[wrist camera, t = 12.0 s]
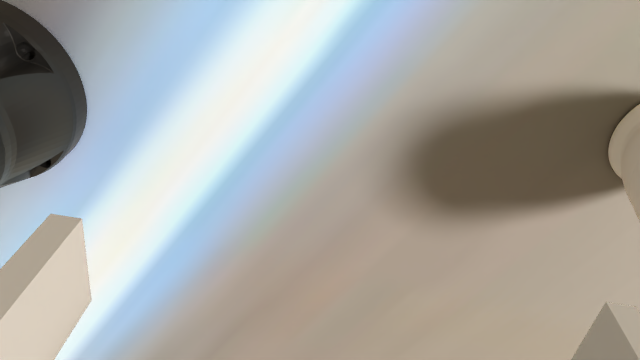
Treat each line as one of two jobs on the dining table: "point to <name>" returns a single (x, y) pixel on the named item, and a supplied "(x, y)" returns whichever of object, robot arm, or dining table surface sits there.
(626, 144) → the jar
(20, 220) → the dining table surface
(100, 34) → the dining table surface
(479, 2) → the dining table surface
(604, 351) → the robot arm
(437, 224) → the dining table surface
